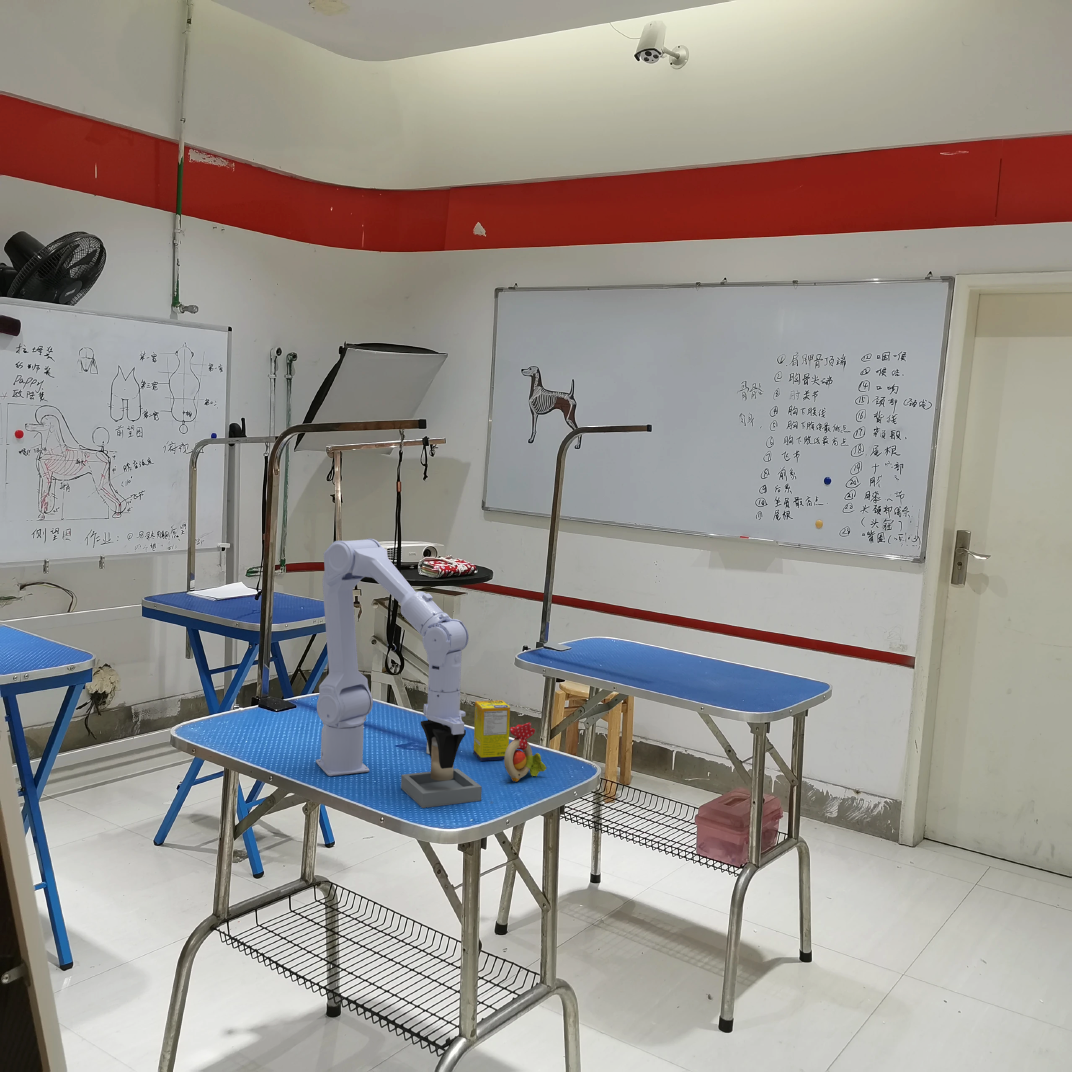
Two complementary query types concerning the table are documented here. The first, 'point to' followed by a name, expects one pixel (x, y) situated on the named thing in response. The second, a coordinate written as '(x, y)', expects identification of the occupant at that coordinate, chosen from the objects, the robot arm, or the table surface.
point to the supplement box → (491, 729)
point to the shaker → (438, 765)
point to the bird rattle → (522, 754)
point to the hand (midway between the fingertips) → (441, 763)
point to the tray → (440, 789)
